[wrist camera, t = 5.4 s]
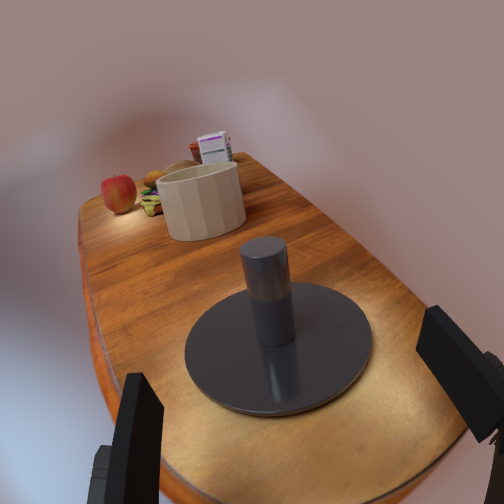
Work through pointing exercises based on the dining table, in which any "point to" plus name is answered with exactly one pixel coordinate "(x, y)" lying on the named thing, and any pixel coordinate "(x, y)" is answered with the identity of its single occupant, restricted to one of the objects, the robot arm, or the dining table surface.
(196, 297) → the dining table surface
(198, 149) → the food container
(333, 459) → the dining table surface
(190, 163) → the bread roll
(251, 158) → the dining table surface
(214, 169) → the pot
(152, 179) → the cheeseburger
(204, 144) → the syrup box
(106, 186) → the apple
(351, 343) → the lid
